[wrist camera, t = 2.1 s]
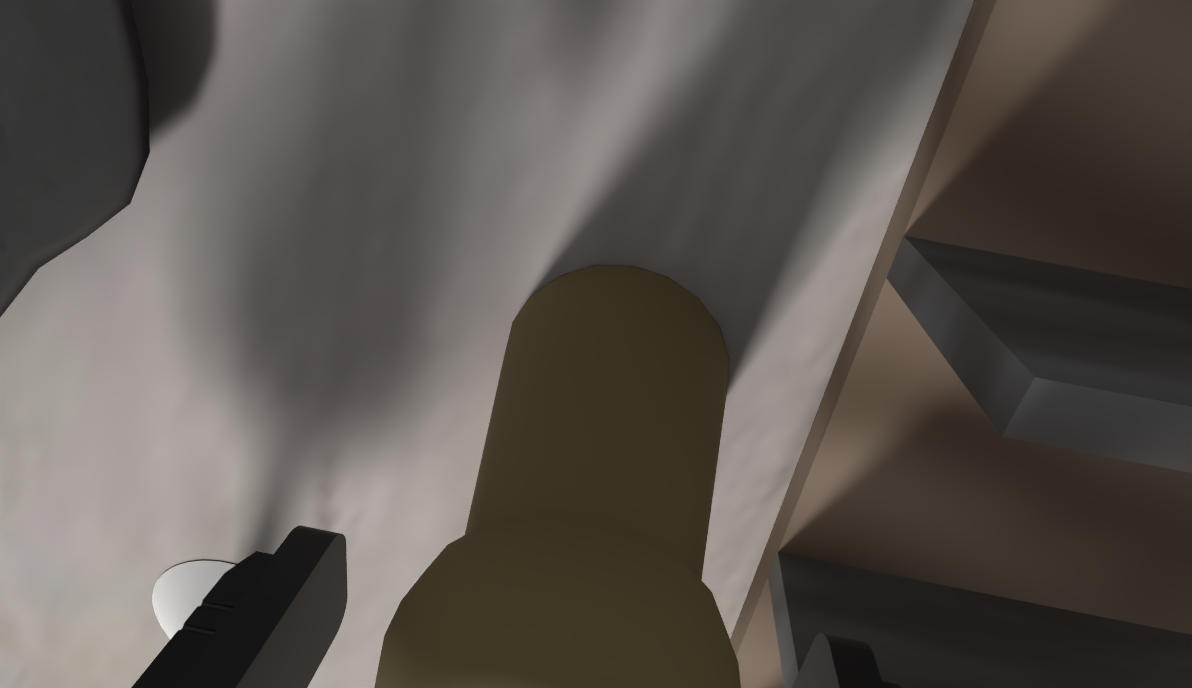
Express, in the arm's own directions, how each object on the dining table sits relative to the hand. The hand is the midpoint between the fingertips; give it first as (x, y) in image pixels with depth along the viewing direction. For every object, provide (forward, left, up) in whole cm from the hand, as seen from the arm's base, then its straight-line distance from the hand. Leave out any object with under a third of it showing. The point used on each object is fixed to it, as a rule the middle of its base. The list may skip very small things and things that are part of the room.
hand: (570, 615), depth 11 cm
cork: (0, 0, -8) cm, 8 cm away
